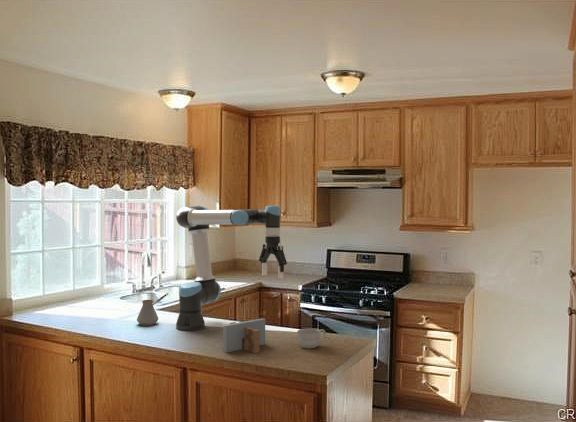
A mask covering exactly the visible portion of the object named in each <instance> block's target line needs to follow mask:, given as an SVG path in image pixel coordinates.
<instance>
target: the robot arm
mask: <svg viewBox="0 0 576 422" xmlns="http://www.w3.org/2000/svg"><path fill="white" fill-rule="evenodd" d="M175 218H176V222H177V224H178V225H179V226H180V227H182V228H185V229H188V230H187V231H188V232H189V234H191V240H192V247H193V248H192V249H193V255H194V256H193V257H194V258H193V259H194V265H195V273H196V278H195V279H194V280H193V281H190V282H185V283H183V284H181V285H180V286H179V292H178V294H179V295H178V296H179V299H178V300H179V302H178V304H179V307H178V308H179V311H178V312H179V313H178V317H177V319H176V323H175V328H176V330H181V331H198V330H201V329H204V328H206V323H205V319H204V315H203V313H202V308H203V307H202V306H203V305H207V304H212V303H213V302H217V300H218V299H219V298H220V297H221V296H220V295H221V293H222V289H221V285H220V284H219V282H217V281H216V277H215V276H213V272H212V271H213V270H212V263H211V262H212V261H211V254H210V247H209V238H208V231H210V225H211V226H212V225H219V226H220V225H221V226H222V225H225V226H227V225H233V226H234V225H236V226H244V225H255V224H257V225H258V224H260V225H265V227H264V228H265V229H264V230H265V237H264V238H265V239H264V240H265V243H263V244H262V249H261V252H260V256H259V259H258V261H259V262H260V263H261V276H262V277H263V276H268V259H269V257H270V256H271V255H274V257H275V259H276V261H277V263H278V268H277V270H278V271H277V273H278V274H277V275H278V277H277V279H284V272H285V266H286V265H288V262H287V260H286V256H285V253H284V246H283V245H279V244H280V243H281V237H280V236H281V207H280V206H279V205H266V206H265V208H264V209H259V208H257V209H256V208H250V209H249V208H248V209H209V208H208V207H206V206H202V205H201V206H200V205H196V206H193V205H192V206H184V207H183V206H182V207H181V208H180V209H179V210H178V211H177V212H176V217H175Z"/></svg>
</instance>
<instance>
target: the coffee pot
mask: <svg viewBox="0 0 576 422" xmlns="http://www.w3.org/2000/svg"><path fill="white" fill-rule="evenodd" d="M169 296H171V294H170V293H169V292H167V293H165V294H163V295H162V296H161V297H159V298H158V299H157V300H156V301H154V299H142V300H141V303H142V306H141V309H140V311H139V313H138V316H137V317H136V321H137V323H138V324H139V325H140V326H143V327H144V326H146V327H149V326H154V325H156V323H157V322H158V321H159V316H158V314H157V312H156V309H155V306H154V305H156V304H158V303H159V302H160V301H162V300H163V299H165V297H169Z"/></svg>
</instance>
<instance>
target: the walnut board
mask: <svg viewBox="0 0 576 422" xmlns="http://www.w3.org/2000/svg"><path fill="white" fill-rule="evenodd" d="M233 323H237V322H236V321H233V322H230V323H229V324H233ZM260 347H261V345H260V330H257V329H254V328H251V327H247V328H245V338H242V350H245V351H248V352H251V353H253V354H258V353H260Z"/></svg>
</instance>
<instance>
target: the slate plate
mask: <svg viewBox="0 0 576 422" xmlns="http://www.w3.org/2000/svg"><path fill="white" fill-rule="evenodd" d="M247 327H251V328H254V329H257V330H260V346H265V345H266V319H265V318H262V317H261V318H257V319H251V320H246V321H240V322H236V323H233V324H230V323H228V324H223V326H222V329H223V331H222V335H223V336H222V341H223V342H222V345H223V346H222V352H224V353H225V354H226V353H230V352H236V351H241V350H243V348H242V338H245V328H247Z"/></svg>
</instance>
